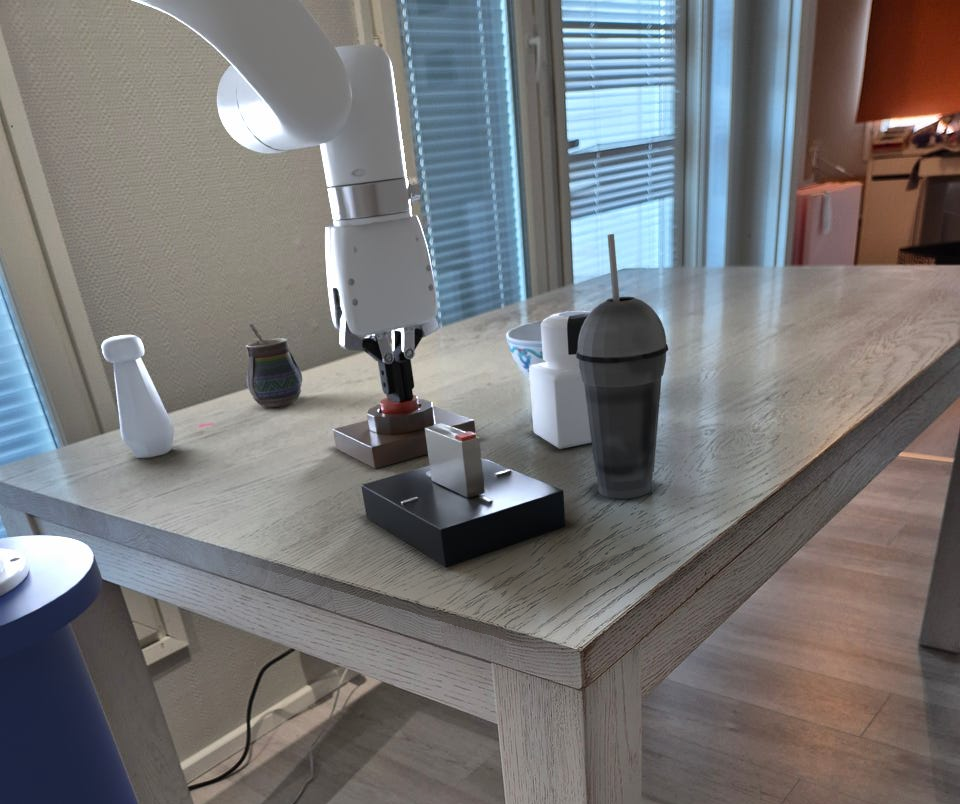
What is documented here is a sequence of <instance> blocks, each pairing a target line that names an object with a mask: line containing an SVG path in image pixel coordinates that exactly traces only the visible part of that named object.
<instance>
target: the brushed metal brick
mask: <svg viewBox="0 0 960 804" xmlns="http://www.w3.org/2000/svg"><path fill="white" fill-rule="evenodd" d="M425 434H426V442H427V449H428V454H427V455H428V463H429V465H430V472H431V479H432V481H434V482H436V483H438V484H440V485H442V486H444V487H446V488H448V489H450V490H452V491H455V492H457V493H459V494H461V495H463V496H465V497H467V498H470V497H473V496H476V495H479V494H483V493H485V489H484V479H483V470H482V460H481V458H482V452H481V442H480V437H479V436H477V433H476V434H475V433H472V432H463V431H461V430H458V429H455V428H452V427H450V426H447V425H444V424H442V423H441V424H437V425H433V426H429V427H425Z"/></svg>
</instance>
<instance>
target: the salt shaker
mask: <svg viewBox="0 0 960 804" xmlns="http://www.w3.org/2000/svg"><path fill="white" fill-rule="evenodd" d="M145 351H146V350H145V347H144V344H143V341H142V339H141V338H140V337H138V335H135V334H134V335H133V334H123V335H115V336H111V337H109V338H106V339H104V340H103V342H102V343H101V352H102V355H103V358H104V359H105V361H107V362H109V363H112V364H113V374H114V383H115V384H114V385H115V394H116V400H117V401H116V402H117V411H118V412H117V413H118V420H119V430H120V437H121V439H122V441H123V443H124V444H125V445H126V446H127V447H128V448H129V449H130V450H131V451H132V453H133V454H134V456H135V457H136V458H154V457H158V456H161V455H165V454H167V453H169V452H170V451H171V450H173V445H174V444H173V443H174V436H175V435H174V434H175V428H174V425H173V422H172V420H171V419H170V416H169V414H168V412H167V410H166V407H165V405H164V404H163V401H162V399H161V397H160V395H159V393H158V391H157V389H156V386H155V385H154V383H153V380H152V378H151V376H150V374H149V372H148V370H147V368H146V365H145V363H144V362H143V360H142V357H143V356H144V355H145Z"/></svg>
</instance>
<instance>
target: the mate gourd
mask: <svg viewBox="0 0 960 804" xmlns="http://www.w3.org/2000/svg"><path fill="white" fill-rule="evenodd" d="M248 326H249V327H250V329H251V331H252V332H253V334H254V336H255V337H256V339H257V340H256V341H252V342H249V343H247V344H246V345H245V350H246V355H247V356H248V363H247V372H246V385H247V388H248V391H249V393H250V395H251V396H252V399H253V400H254V401H255V402H256V403H257V404H258V405H259V406H261V407H262V408H264V409H265V408H278V407H279V408H280V407H284V406H285V407H286V406H288V405H291V404H293V403H295V402H296V401H297V400H298V398H299V397H300V395H301V392H302V385H303V384H302V383H303V374H302V371H301V370H300V369H301V368H300V367H299V365H298V363H297V362H296V360H295V358H294V356H293V354H292V353H291V351H290V345H289V340H288V339H287V338H285V337H278V338H267V339H263V338H262V336H261V335H260V334H259V331H258V330H257V329H256V327H255V326H254V324H253V323H252V324H248Z"/></svg>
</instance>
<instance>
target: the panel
mask: <svg viewBox="0 0 960 804" xmlns="http://www.w3.org/2000/svg"><path fill="white" fill-rule="evenodd" d="M481 460H482V470H483V479H484V489H485V493H483V494H479V495H476V496H473V497H470V498H467V497H465V496H463V495H461V494H459V493H457V492H455V491H452V490H450V489H448V488H446V487H444V486H442V485H440V484H438V483H436V482H434V481H432V479H431V472H430V464H429V465H426V466H423V467H419V468H415V469H411V470H408V471H405V472H401V473H397V474H395V475H391V476H387V477H383V478H380V479H376V480H373V481H370V482H366V483H363V484H361V485H360V488H361V493H362V498H363V499H362V500H363V505H364V510H365V515H366V516H365V517H366V519H368V520H369V521H371V522H372V523H374V524H376V525H378V526H379V527H381V528H382V529H384V530H385V531H388V532H389V533H391V534H392V535H394V536H395V537H397V538H399V539H400V540H402V541H403V542H405V543H407V544H408V545H409V546H411V547H413V548H414V549H417V550H418V551H419V552H421V553H423V554H424V555H426V556H428V557H429V558H431V559H432V560H434V561H435V562H436V563H438V564H439V565H442V566H443V567H445V568H447V567H450V566H453V565H456V564H458V563H462V562H465V561H467V560H470V559H473V558H476V557H480V556H482V555H486V554H488V553H492V552H494V551H497V550H499V549H502V548H506V547H509V546H511V545H515V544H517V543H520V542H522V541H526V540H529V539H532V538H535V537H537V536H541V535H544V534H547V533H549V532H552V531H555V530H558V529H561V528H564V527H566V514H565V513H566V511H565V494H564V490H563V489H561V488H558V487H556V486H553V485H551V484H550V483H549V484H548V483H546V482H544V481H541V480H538V479H536V478H533V477H531V476H528V475H526V474H524V473H521V472H518V471H516V470H513V469H511V468H509V467H506V466H503V465H501V464H499V463H496V462H494V461H492V460H491V461H490V460H489V459H487V458H483V457H481Z"/></svg>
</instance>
